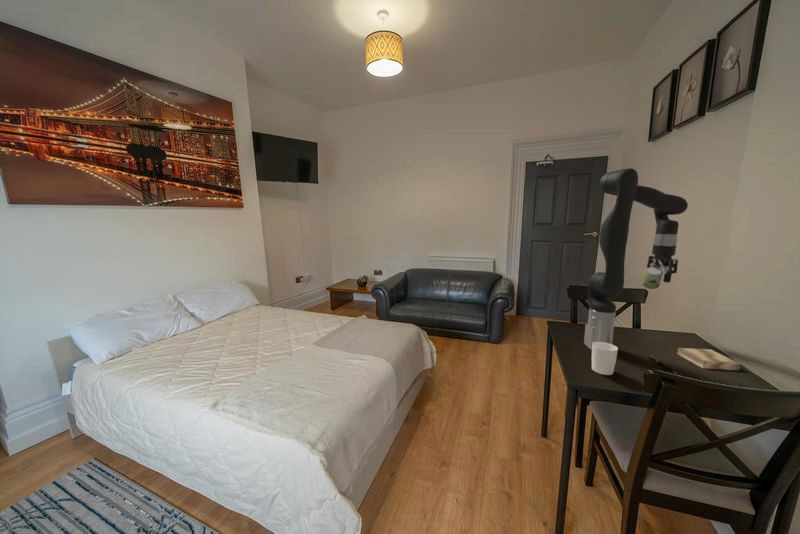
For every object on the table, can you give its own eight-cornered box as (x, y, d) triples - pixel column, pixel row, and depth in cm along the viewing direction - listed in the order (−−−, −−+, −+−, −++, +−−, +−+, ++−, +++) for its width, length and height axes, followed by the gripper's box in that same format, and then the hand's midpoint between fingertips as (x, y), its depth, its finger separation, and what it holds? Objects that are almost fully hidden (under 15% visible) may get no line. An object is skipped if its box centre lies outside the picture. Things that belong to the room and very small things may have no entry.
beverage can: (661, 289, 132) (671, 273, 124) (643, 291, 134) (652, 276, 125) (653, 278, 137) (662, 263, 128) (636, 281, 138) (644, 266, 130)
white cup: (595, 363, 112) (597, 339, 110) (618, 372, 105) (621, 347, 104) (585, 369, 108) (588, 344, 106) (609, 378, 101) (612, 352, 100)
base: (702, 368, 108) (704, 360, 107) (677, 354, 119) (678, 347, 119) (739, 370, 106) (740, 363, 106) (709, 355, 118) (710, 349, 117)
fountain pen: (679, 376, 103) (679, 372, 103) (675, 376, 103) (676, 372, 103) (649, 357, 117) (650, 354, 117) (646, 357, 117) (647, 354, 117)
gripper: (643, 243, 131) (639, 277, 134) (667, 245, 117) (661, 283, 120) (662, 243, 130) (657, 277, 133) (687, 245, 116) (681, 284, 119)
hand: (659, 280), depth 126 cm, fingers open, 8 cm apart
